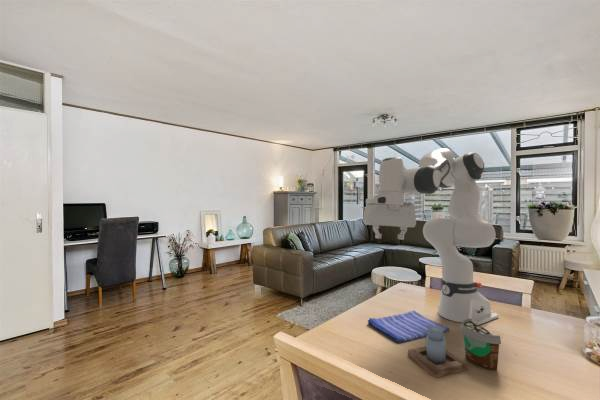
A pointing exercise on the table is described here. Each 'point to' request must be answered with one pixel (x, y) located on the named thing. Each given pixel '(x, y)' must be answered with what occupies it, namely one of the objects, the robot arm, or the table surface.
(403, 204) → the robot arm
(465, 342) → the food container
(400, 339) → the dish towel
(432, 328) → the blue-grey shaker
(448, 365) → the square wooden frame
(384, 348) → the table surface
